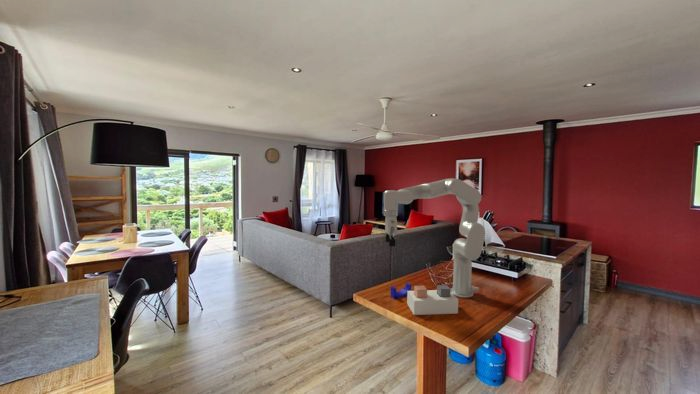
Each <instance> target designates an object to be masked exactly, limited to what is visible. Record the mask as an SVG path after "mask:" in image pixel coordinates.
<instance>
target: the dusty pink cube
mask: <svg viewBox="0 0 700 394" xmlns="http://www.w3.org/2000/svg"><path fill="white" fill-rule="evenodd" d="M427 290H428V289H427V287H426V286H425V285H414V286H413V291H414V295H415V296H416V298H427Z"/></svg>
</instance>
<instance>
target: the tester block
mask: <svg viewBox="0 0 700 394" xmlns="http://www.w3.org/2000/svg"><path fill="white" fill-rule="evenodd" d="M406 299H407V300H406V305H407V306H408V308H409V309H410V311H411V312H412V314H413V315H414V316H420V315H421V316H422V315H424V316H425V315H426V316H427V315H449V314H451V315H452V314H453V315H454V314H459V299H458V298H457V296H455V295H453V294H452V293H451V294H450V297H440V296H439V295H438V294H437V289H431V290H430V289H427V298H416V296H415V295H414V290H411V291H407V296H406Z"/></svg>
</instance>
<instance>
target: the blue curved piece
mask: <svg viewBox="0 0 700 394" xmlns="http://www.w3.org/2000/svg"><path fill="white" fill-rule="evenodd" d="M407 291H412V284H410V283H409V282H407V283H405V286H404V287H402V288H401V289H400V290H399V291H397V287H396V286H393V285H392V286H390V298H392V299H393V300H394V299H395V300H396V299H400V298H405V297H407Z"/></svg>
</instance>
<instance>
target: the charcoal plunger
mask: <svg viewBox="0 0 700 394" xmlns="http://www.w3.org/2000/svg"><path fill="white" fill-rule="evenodd" d="M436 290H437V294H438V295H439V296H440V297H450V294H451V287H449V286H448V285H447V284H441V285H439V284H438V285H436Z"/></svg>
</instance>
